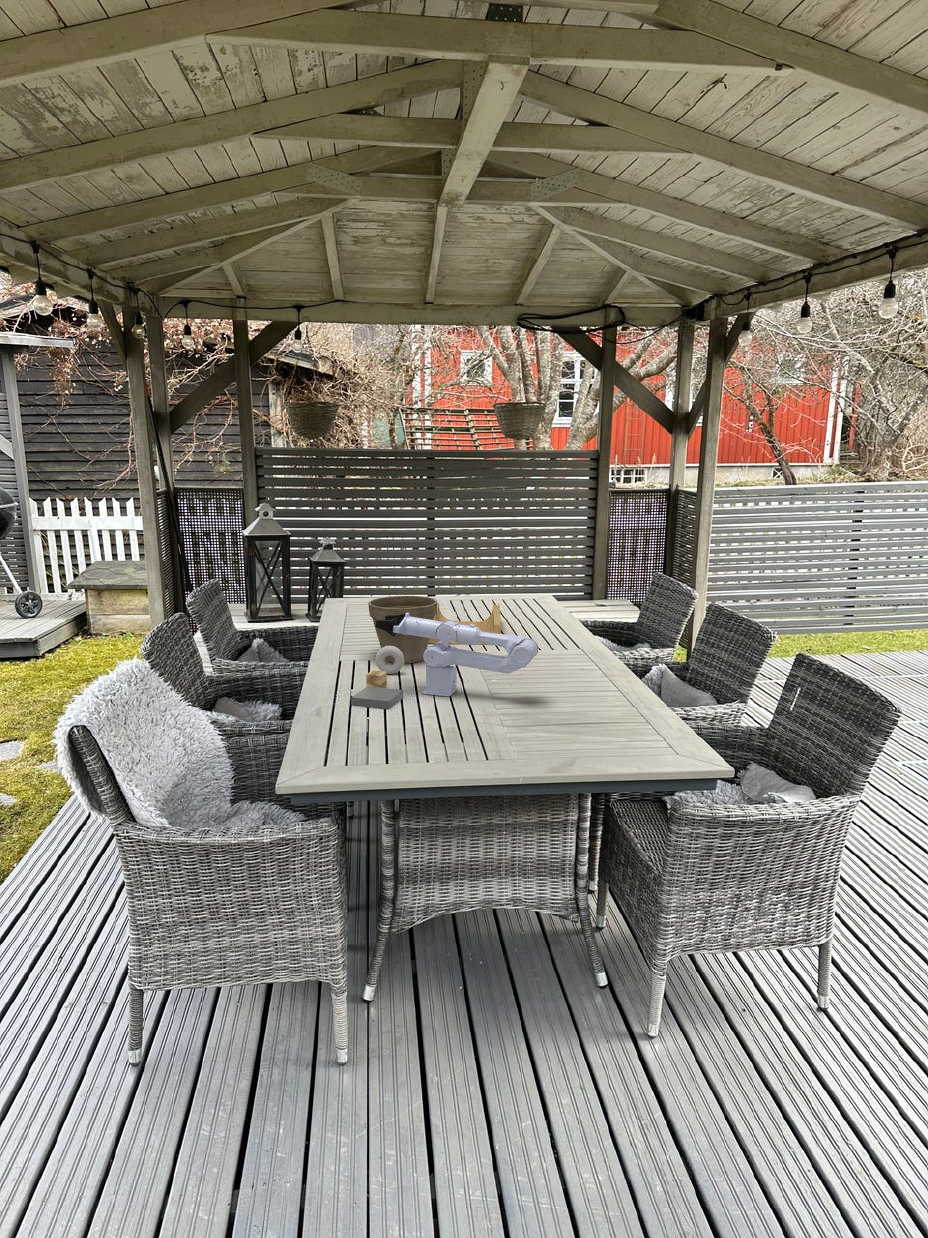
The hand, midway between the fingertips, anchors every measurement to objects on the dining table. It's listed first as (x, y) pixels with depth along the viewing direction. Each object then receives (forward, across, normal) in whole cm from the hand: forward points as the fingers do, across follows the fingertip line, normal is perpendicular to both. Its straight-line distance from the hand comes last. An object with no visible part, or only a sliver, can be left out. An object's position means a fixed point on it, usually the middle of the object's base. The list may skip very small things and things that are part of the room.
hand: (380, 621), depth 253 cm
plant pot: (+4, -34, +22) cm, 41 cm away
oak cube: (-1, +2, +22) cm, 22 cm away
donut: (+1, -14, +22) cm, 26 cm away
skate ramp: (-2, -80, +22) cm, 83 cm away
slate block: (-7, +15, +22) cm, 27 cm away
